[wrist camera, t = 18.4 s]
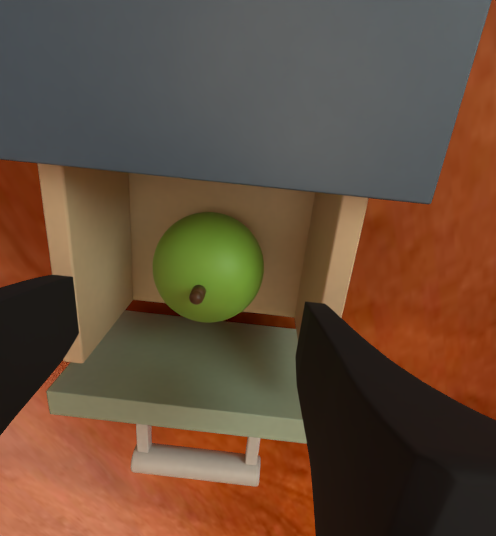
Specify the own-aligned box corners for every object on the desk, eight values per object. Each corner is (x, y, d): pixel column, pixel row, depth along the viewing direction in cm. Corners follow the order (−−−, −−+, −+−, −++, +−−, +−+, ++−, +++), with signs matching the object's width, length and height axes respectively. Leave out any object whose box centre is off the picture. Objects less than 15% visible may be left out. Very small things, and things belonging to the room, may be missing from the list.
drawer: (297, 423, 22) (309, 536, 16) (120, 402, 22) (64, 507, 16) (362, 98, 15) (427, 77, 9) (101, 71, 15) (-13, 33, 9)
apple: (282, 261, 17) (289, 318, 12) (207, 307, 18) (184, 376, 13) (227, 181, 15) (208, 207, 10) (150, 236, 17) (99, 282, 12)
